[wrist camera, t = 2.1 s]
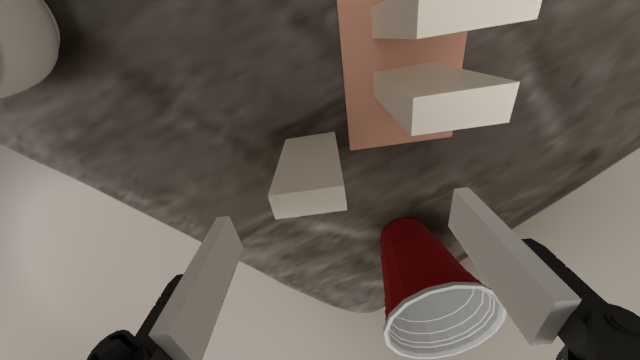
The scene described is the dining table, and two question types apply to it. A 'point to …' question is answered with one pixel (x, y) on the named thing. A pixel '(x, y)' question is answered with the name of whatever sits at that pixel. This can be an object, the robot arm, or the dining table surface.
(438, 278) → the plastic cup
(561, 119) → the dining table surface
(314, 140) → the domino
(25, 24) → the lidded jar
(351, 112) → the strip
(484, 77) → the domino
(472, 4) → the domino
